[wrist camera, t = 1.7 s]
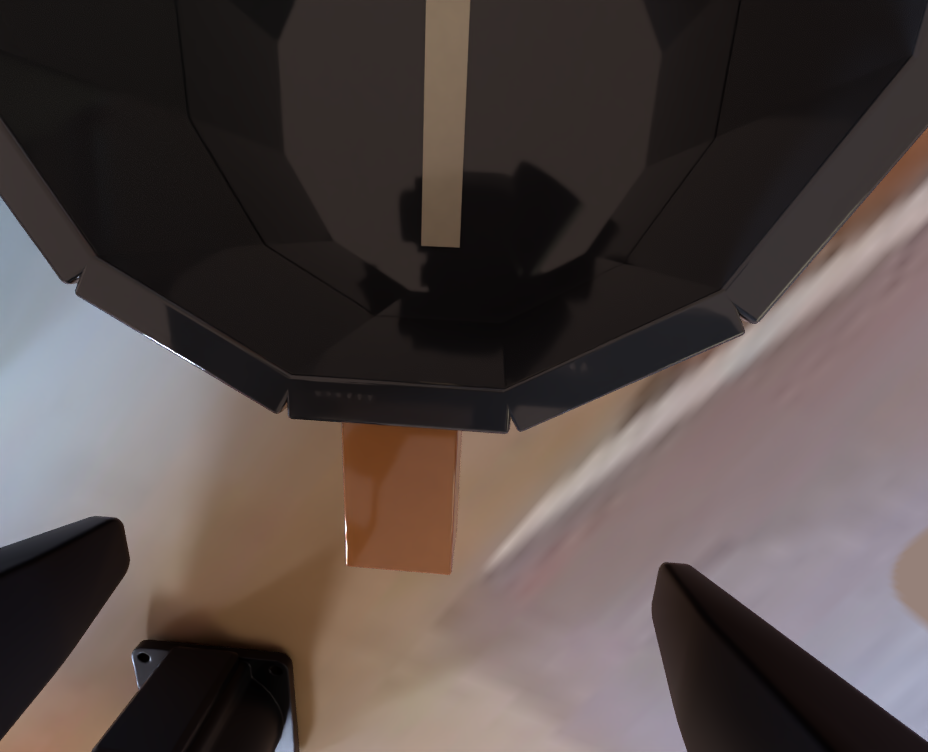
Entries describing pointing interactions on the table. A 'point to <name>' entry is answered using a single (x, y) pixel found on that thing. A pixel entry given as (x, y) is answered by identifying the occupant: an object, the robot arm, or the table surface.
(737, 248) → the bowl
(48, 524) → the table surface
